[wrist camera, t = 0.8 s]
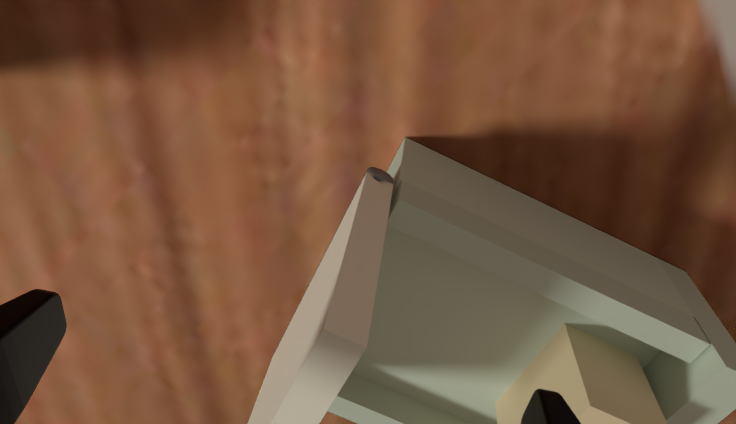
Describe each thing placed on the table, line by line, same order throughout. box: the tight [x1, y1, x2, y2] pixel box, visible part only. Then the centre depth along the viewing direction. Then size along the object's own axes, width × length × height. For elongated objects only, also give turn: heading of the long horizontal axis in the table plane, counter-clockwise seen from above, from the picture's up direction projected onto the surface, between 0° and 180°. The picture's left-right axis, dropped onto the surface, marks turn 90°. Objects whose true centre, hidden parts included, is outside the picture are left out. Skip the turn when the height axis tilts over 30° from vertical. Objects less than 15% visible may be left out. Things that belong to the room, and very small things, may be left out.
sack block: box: [495, 323, 667, 424], centre depth 20 cm, size 5×3×4 cm, turn 156°
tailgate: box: [248, 167, 394, 424], centre depth 18 cm, size 10×9×1 cm
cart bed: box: [327, 137, 736, 424], centre depth 22 cm, size 10×14×6 cm
